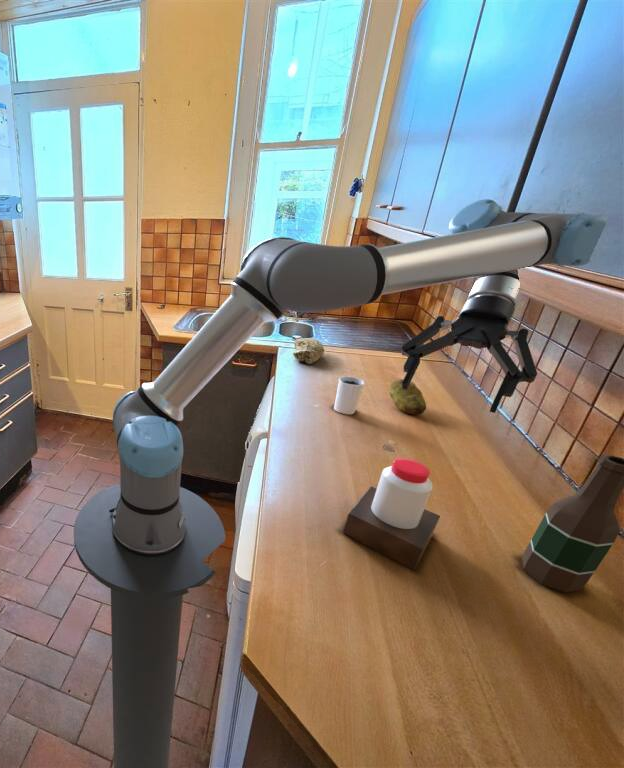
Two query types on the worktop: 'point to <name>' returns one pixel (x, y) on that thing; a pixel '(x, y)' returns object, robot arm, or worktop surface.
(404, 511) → the pill bottle
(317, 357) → the tan rock
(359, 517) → the walnut block
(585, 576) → the beer bottle
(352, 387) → the white cup
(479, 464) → the worktop surface
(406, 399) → the avocado
